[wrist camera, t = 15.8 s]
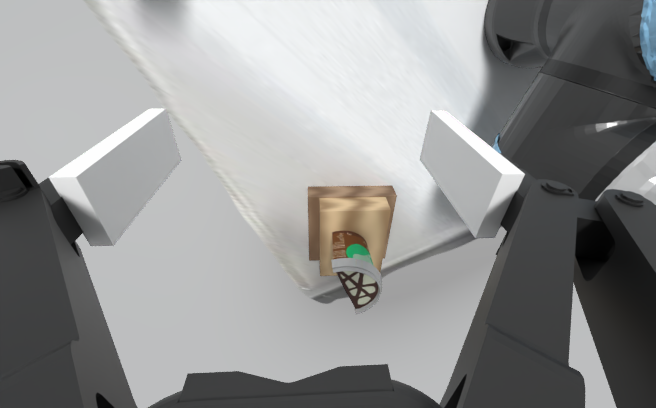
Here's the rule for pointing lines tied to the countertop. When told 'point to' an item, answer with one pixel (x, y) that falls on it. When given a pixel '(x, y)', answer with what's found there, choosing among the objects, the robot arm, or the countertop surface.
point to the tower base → (342, 192)
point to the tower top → (353, 226)
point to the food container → (356, 269)
